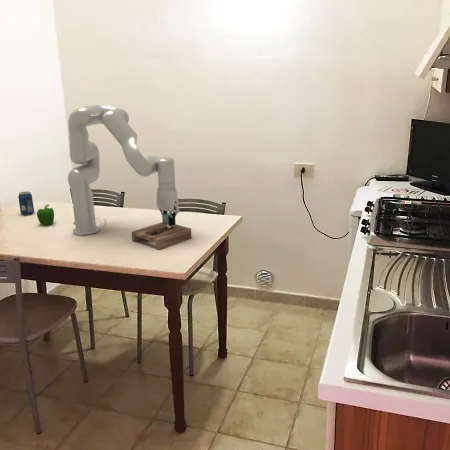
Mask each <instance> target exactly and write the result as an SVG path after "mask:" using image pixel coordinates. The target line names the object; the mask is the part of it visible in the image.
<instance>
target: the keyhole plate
mask: <svg viewBox="0 0 450 450" xmlns="http://www.w3.org/2000/svg"><path fill="white" fill-rule="evenodd" d="M171 227H172V228H171V229H167V224H163V221H162V222H158V223H154V224H152V225H148V226H146V227H142V228H139V229H136V230H132V231H131V232H130V234H131V242H132V243H133V242H138V241H141V240H147V241H148V242H149V241H150V242H153V243H155V250H157V251H160V250H162V249H165V248H168V247H170V246H172V245H175V244H179V243H181V242H184V241H187V240H189V239H191V238H192V228H190V227H187V226H183V225H179V224H175V225H173V226H171Z"/></svg>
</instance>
